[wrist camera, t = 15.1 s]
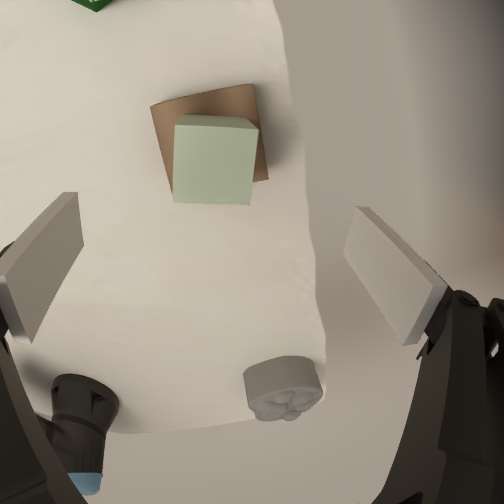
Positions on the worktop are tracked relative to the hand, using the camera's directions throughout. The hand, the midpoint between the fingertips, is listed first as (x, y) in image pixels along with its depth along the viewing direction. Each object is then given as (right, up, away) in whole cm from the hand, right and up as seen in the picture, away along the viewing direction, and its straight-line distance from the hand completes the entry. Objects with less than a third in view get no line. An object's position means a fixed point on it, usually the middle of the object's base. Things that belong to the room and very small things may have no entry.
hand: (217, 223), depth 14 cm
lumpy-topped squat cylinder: (+7, -24, +42) cm, 49 cm away
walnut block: (-3, +12, +19) cm, 23 cm away
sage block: (-2, +9, +15) cm, 18 cm away
